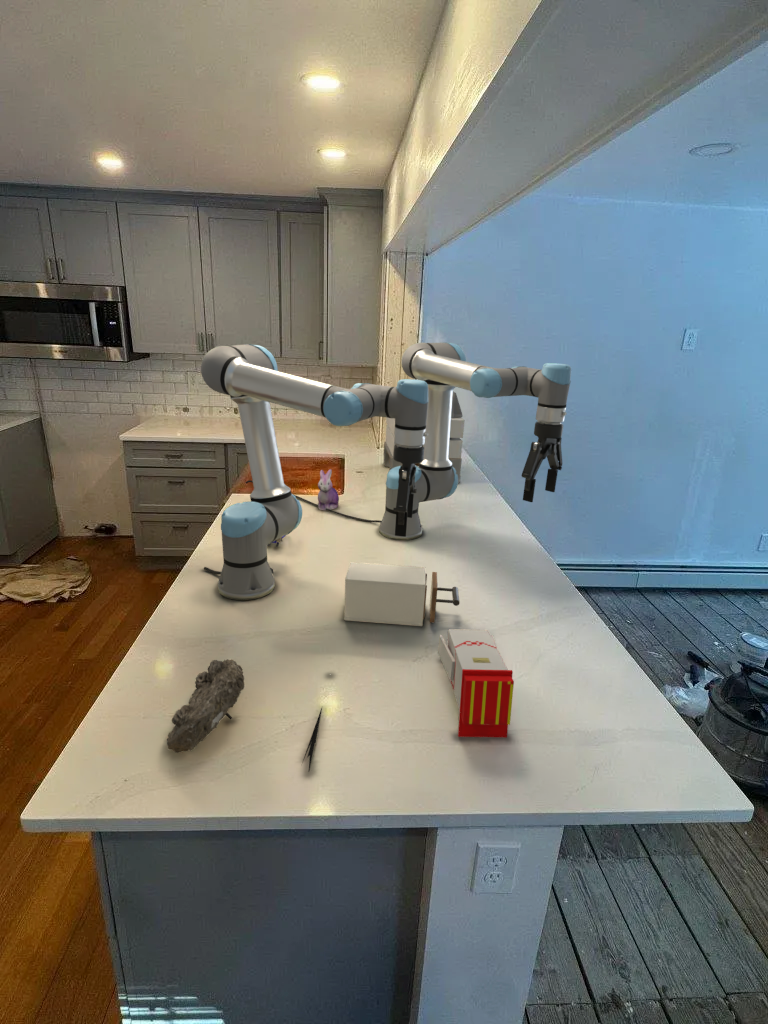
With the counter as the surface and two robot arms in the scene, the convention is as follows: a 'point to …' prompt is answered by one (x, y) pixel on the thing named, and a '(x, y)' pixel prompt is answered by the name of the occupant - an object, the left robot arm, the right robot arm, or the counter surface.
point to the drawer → (434, 596)
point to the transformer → (454, 444)
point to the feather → (313, 740)
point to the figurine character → (277, 541)
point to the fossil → (206, 705)
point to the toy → (478, 682)
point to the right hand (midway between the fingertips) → (539, 496)
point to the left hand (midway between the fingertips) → (403, 526)
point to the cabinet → (385, 593)
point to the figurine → (327, 492)
